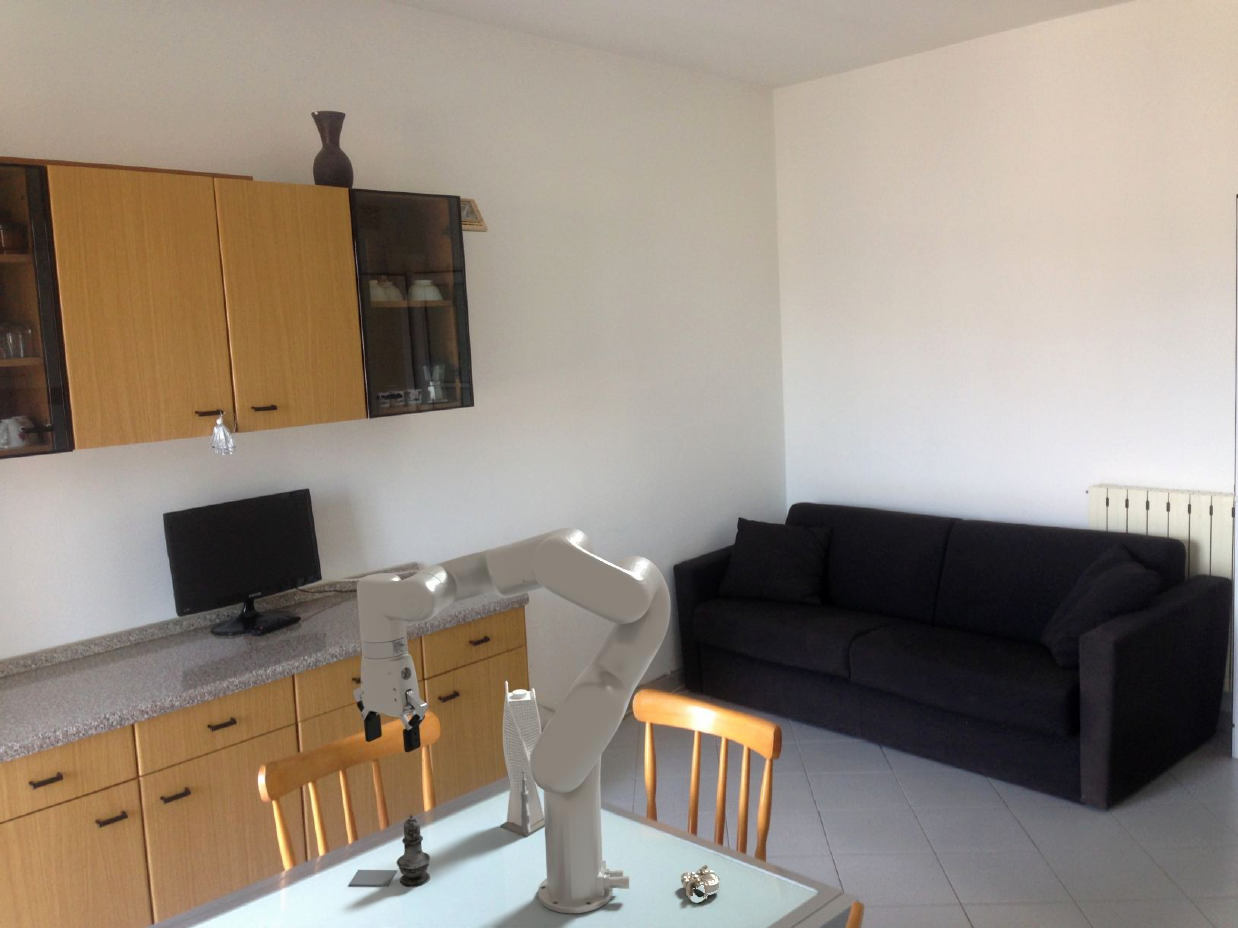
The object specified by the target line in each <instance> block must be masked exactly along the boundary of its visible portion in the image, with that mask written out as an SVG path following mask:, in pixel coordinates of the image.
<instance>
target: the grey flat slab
mask: <svg viewBox="0 0 1238 928" xmlns="http://www.w3.org/2000/svg"><path fill="white" fill-rule="evenodd" d="M397 870H398V869H357V871H355V874H354V875H353V877H352V879H351V881H350V882H349V883H348V887H389V886H390V884H391V882H392V881H393V879H394V877H395V875H396V873H397Z"/></svg>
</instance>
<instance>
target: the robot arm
mask: <svg viewBox="0 0 1238 928" xmlns="http://www.w3.org/2000/svg"><path fill="white" fill-rule="evenodd" d="M543 588H544V589H546V590H547V591H549V592H551V594H552V593H553V594H554V595H555V596H557V597H559V598H562V599H563V600H565V601H567V602H569V603H571V604H573V605H575V606H577V607H579V608H581V609H582V610H585V611H588V612H590V613H592V614H593V615H595V616H598V617H599V618H602V619H603V620H605V621H608V622H612V623H613V624H612V625H611V627H610V629H609V631H608V632H607V633H606V635H605V638H604V639H603V641H602V643H601V644H600V646H599V648H598V649H597V651H596V652H595V654H594V655H593V657H592V658H591V660H590V661H589V662H588V664H587V665H586V667H584V668H583V670H582V671H581V672H580V673H579V675H578V676H577V677H576V679H575V680H574V682H573V683H572V685H571V687H570V688H569V690H568V692H567V693H566V695H565V696H564V698H563V700H562V701H561V703H560V705H559V706H558V708H557V710H556V712H555V713H554V715H553V716H552V718H550V719H549V720H548V722H547V723H546V725H545V726H544V728H543V729H542V730H541V735H540V737H539V739H538V741H537V742H536V744H535V745H534V747H533V749H532V751H531V755H530V761H529V765H530V772H531V775H532V777H533V779H534V781H535V782H536V784H537V787H539V788H540V789H542V790H543V813H544V820H545V827H544V838H545V839H544V840H545V842H544V843H545V868H546V878H545V879H543V880H542V882H541V883H540V884H539V886H538V890H537V893H538V896H537V897H538V899H539V901H540V903H541V904H542V905H543V906H544V907H546V908H547V909H549V910H550V911H554V912H556V913H562V914H581V913H583V914H584V913H588V912H591V911H594V910H597V909H599V908H601V907H603V906H604V905H606V904H607V903H608V902H609V901H610V900H611V898H612V896H613V891H614V889H619V890H620V889H621V890H622V889H625V890H626V889H627V890H628V889H630V875H629V876H625V875H624V870H610V868H607V861H606V860H603V843H602V842H603V841H602V840H603V837H602V834H603V833H602V814H601V813H602V810H601V809H602V808H601V806H602V799H601V794H602V793H601V770H602V769H601V768H602V767H601V763H602V762H601V761H602V755H603V753H604V751H605V750H606V748H607V746H608V745H609V744H610V742H611V740H612V738H614V735H615V734H616V732H617V731H618V728H619V726H621V723H622V721H623V719H624V716H625V714H626V711H627V709H628V707H629V704H630V700H631V698H632V695H633V693H634V691H635V689H636V688H637V687H638V686H639V685H638V684H639V683H640V682H641V680H642V678H643V676H644V675H645V673H646V672H647V670H648V668H649V667H650V665H651V663H652V661H653V660H654V658H655V656H657V655H656V654H657V653H658V651H659V649H660V648H661V646H662V644H663V641H664V639H665V637H666V634H667V632H668V627H669V624H670V618H671V608H672V607H671V605H672V604H671V596H670V591H669V587H668V584H667V582H666V580H665V578H664V575H663V574H662V572H661V571H660V570H659V568H658V567H657V566H656V565H655V563H653V562H652V561H651V560H649V559H648V558H647V557H644V556H643V557H642V556H639V555H631V556H626V557H623V558H622V559H620V560H618V561H617V562H615V563H611V562H610V561H607V560H605V559H603V558H601V557H599V556H597V555H595V554H594V549H593V545H592V542H591V539H590V538H589V537H588V535H586V533H584V531H582V530H580V529H578V528H575V527H562V528H558V529H554V530H551V531H548V532H544V533H540V534H538V535H534V536H531V537H528V538H524V539H521V540H517V541H515V542H514V541H513V542H511V543H508V544H507V543H506V544H504V545H501V546H497V547H494V548H488V549H485V550H482V551H479V552H474V553H469V554H466V555H462V556H459V557H456V558H452V559H449V560H445V561H442V562H438V563H436V564H432V565H429V566H427V567H425V568H424V569H422V570H419V571H418V572H417V573H415V574H413V575H412V576H409V577H407V578H404V579H402V578H401V577H400V576H399V575H397V574H395V573H389V572H385V573H383V572H382V573H375V574H368V575H365V576H363V577H362V578H360V579H359V580H358V581H357V583H356V598H357V607H358V617H359V618H358V619H359V630H360V642H361V651H362V652H361V653H362V655H361V663H360V686H359V687H357V688H355V689H354V690H353V692H352V694H353V696H354V700H355V701H356V706H357V707H356V708H358V710H359V711H360V717H361V719H363V727H364V737H365V742H367V743H371V742H373V741H375V740H378V739H379V738H381V737H383V732H382V731H383V730H382V722H381V721H382V719H381V715H386V716H388V717H389V716H390V717H395V718H399V720H400V722H401V723H402V725H403V726H404V728H403V729H402V736H403V750H404V752H405V753H410V752H412V751H415V750H417V749H419V748H420V747H421V744H422V743H421V729H420V726H421V725H422V723H423V721H424V719H425V717H426V713H427V709H428V704H427V703H426V702H425V701H424V700H423V699H422V698H421V697H420V689H419V685H418V677H417V673H416V668H415V667H416V666H415V663H414V660H413V657H412V655H411V654H410V653H409V645H408V638H407V637H408V636H407V627H406V622H408V623H424V622H427V621H429V620H431V619H432V618H433V617H435V616H436V615H438V614H439V613H440V612H441V611H442V610H444V609H445V608H446V607H447V606H450V605H452V604H454V603H458V602H462V601H466V600H469V599H472V598H475V597H476V598H477V597H479V596H480V597H481V596H484V595H497V596H499V597H500V598H506V599H507V598H513V597H516V596H519V595H523V594H526V593H528V592H532V591H536V590H539V589H543ZM408 715H409V716H410V719H409V718H408Z"/></svg>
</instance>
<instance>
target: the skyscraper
mask: <svg viewBox="0 0 1238 928" xmlns="http://www.w3.org/2000/svg"><path fill="white" fill-rule="evenodd" d="M508 685H509V683H508V681H507V680H505V681H504V688H505V695H504V705H503V716H502V746H503V747H502V748H503V755H504V762H505V767H506V770H507V772H506V773H507V775H508V780H509V783H510V786H509V794H508V795H509V797H508V803H507V804H508V805H507V815H506V821H505V822H503V823H501V824H500V825H499V828H501V829H504V830H507V831H510V832H512V833H514V834H518V835H521V836H522V837H526V838H528V837H529V836H532V834H534V833H536V832H538V831H540V830H542V829H543V828H545V820H544V807H543V804H542V801H541V797H540V792H539V789H538V785H537V784H536V782H535V781H534V779H533V777H532V775H531V772H530V765H529V761H530V755H531V751H532V749H533V747H534V745H535V744H536V742H537V741H538V739H539V737H540V735H541V733H542V725H541V718H540V712H539V709H538V703H537V700H536V699H537V698H536V691H535V688H534V687H532V688H531V690H529V691H528V690H526V689H515V690H513V691H512V692H509V686H508Z"/></svg>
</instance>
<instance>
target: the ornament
mask: <svg viewBox="0 0 1238 928" xmlns="http://www.w3.org/2000/svg"><path fill="white" fill-rule="evenodd" d="M707 869H708V865H706V864H704V865H703V866H702V867H700V868H699V869H697V870H696V872H694V871H692V872H691V873H689V872H683V873H682V874H680V882H681V885H682V886H683V889H685V894H686V897H687V896H688V899H689V898H691V896H693V893H694V892H695V890H696V888H698V887H699V886H703V887H704V889H705V893H704V894H703V895H704V896H703V898H704V897H706V896H707V895H708V894H707V893H711V892H714V891H716V890H718V888H719V889H720V882H719V881H718V880H720V877H719V876H718V875H717V874H716V873H715V872H714V870H713V869H709V870H708V871H707ZM720 881H721V880H720ZM693 888H695V889H693Z"/></svg>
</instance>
